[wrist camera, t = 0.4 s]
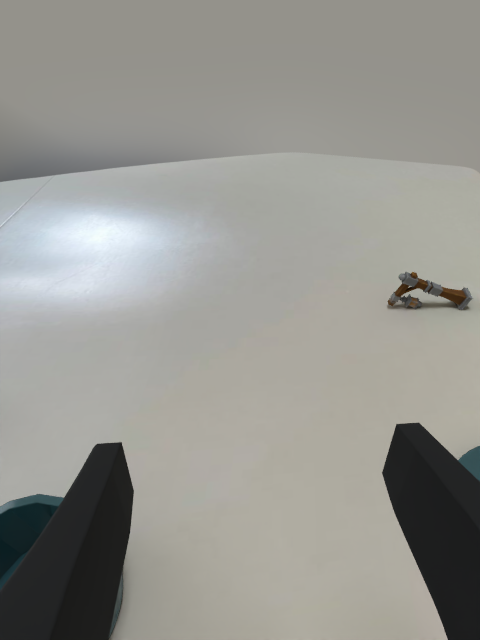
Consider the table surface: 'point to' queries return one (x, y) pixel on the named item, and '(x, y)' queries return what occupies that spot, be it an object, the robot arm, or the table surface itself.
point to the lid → (472, 461)
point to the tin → (29, 534)
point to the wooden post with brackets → (432, 288)
